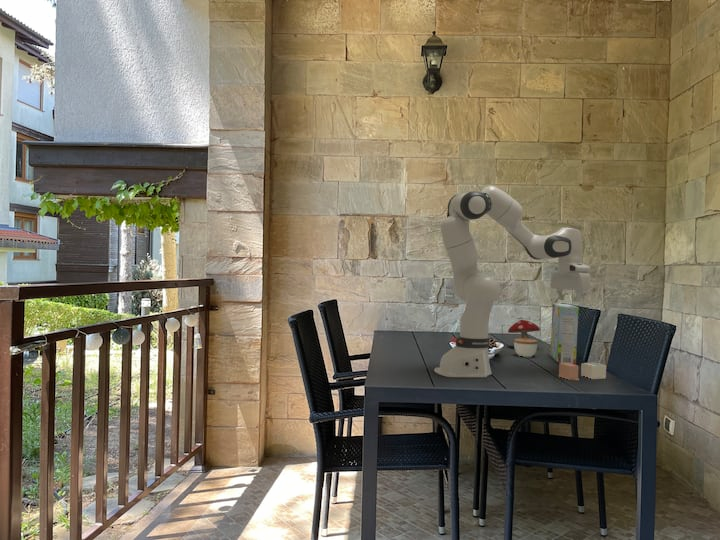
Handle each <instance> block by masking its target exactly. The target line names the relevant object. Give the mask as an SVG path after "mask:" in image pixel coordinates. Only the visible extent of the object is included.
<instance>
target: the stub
mask: <svg viewBox="0 0 720 540" xmlns="http://www.w3.org/2000/svg"><path fill="white" fill-rule="evenodd" d="M558 364H559V365H558V368H559V369H558V376H561V377H564V378H567V379H579V365H577V364H571V363H558Z"/></svg>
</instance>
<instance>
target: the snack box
mask: <svg viewBox="0 0 720 540" xmlns="http://www.w3.org/2000/svg"><path fill="white" fill-rule="evenodd" d="M579 308H580V307H579V306H576V305H572V304H568V303H552V312H551V333H550V335H551V336H550V357H551V358H552V359H553V360H554V361H555V362H556V363H557V364H559V363H571V364H574V365H577V347H578V345H577V344H578V327H579V310H580V309H579Z"/></svg>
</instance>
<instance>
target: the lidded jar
mask: <svg viewBox="0 0 720 540" xmlns="http://www.w3.org/2000/svg"><path fill="white" fill-rule="evenodd" d="M513 342H514V343H513V346H514V351H515V353H516V354H517V355H518V357H520V356H523V357H522V358H532V357H533V356H534V355H535V354H536V353H537V349H538V340H537V339H532V338H529V339H527V337H525V339H522V338H514V339H513Z"/></svg>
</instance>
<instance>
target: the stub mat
mask: <svg viewBox="0 0 720 540" xmlns="http://www.w3.org/2000/svg"><path fill="white" fill-rule="evenodd" d="M558 376H559V375H558ZM560 377H561V376H559V377H558V378H560ZM563 378H564V377H562V378H561V379H563ZM566 379H567V378H565V379H564V380H566ZM579 379H580V378H578V379H568V380H567V381H569V380H571V381H580V380H579Z"/></svg>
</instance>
